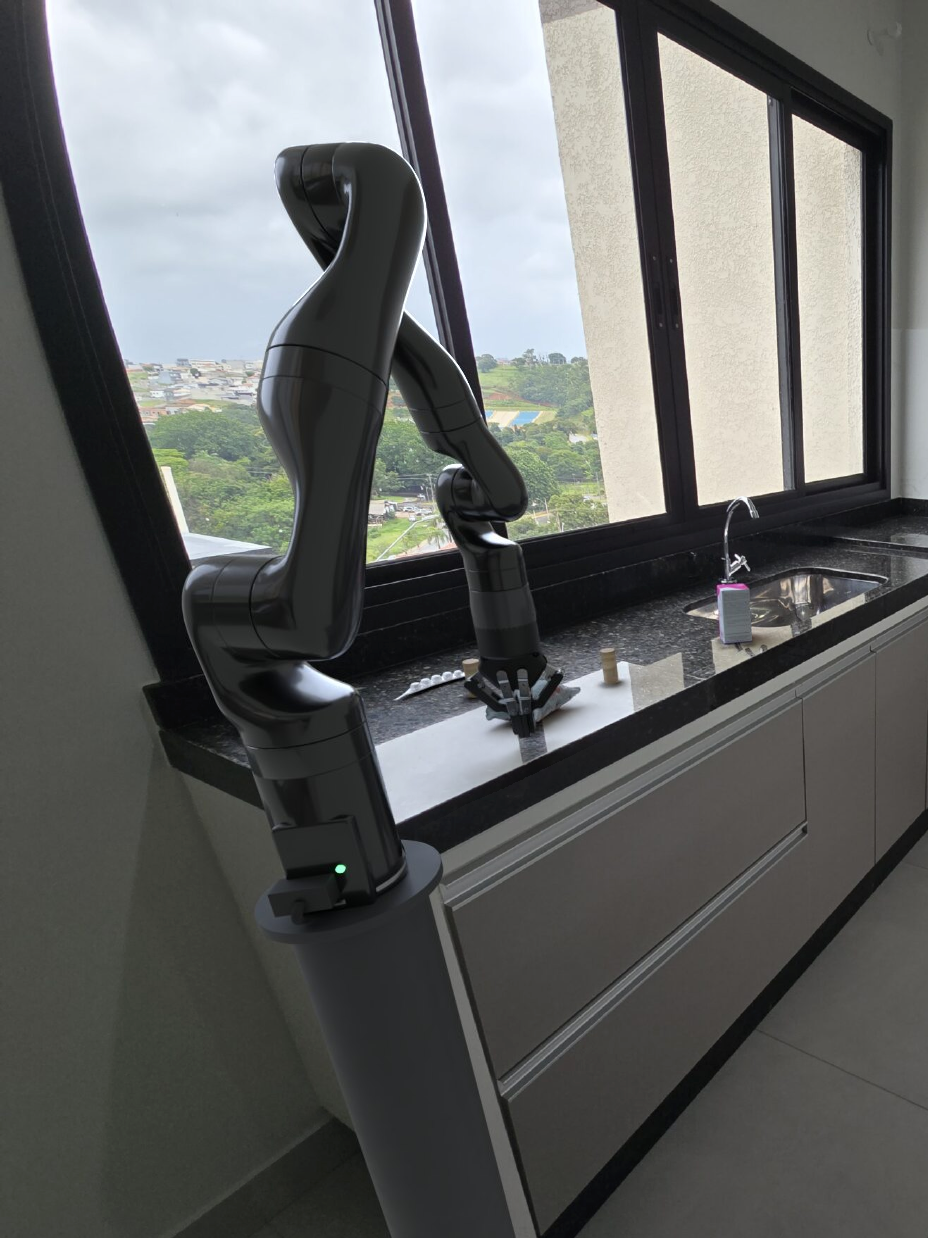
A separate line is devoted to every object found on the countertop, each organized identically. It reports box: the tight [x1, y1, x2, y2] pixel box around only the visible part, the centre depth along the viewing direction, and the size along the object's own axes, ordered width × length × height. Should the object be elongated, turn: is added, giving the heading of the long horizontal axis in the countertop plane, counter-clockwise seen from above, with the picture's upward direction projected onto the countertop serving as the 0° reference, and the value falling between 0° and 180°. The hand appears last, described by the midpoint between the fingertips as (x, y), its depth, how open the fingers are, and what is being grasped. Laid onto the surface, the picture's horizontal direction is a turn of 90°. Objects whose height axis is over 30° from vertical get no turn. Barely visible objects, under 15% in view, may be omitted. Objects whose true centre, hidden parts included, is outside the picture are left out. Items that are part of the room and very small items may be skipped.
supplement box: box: [716, 583, 753, 646], centre depth 150 cm, size 6×6×12 cm
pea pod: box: [394, 669, 465, 702], centre depth 126 cm, size 15×4×2 cm, turn 151°
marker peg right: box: [599, 647, 620, 685], centre depth 128 cm, size 2×2×6 cm
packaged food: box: [485, 679, 581, 723], centre depth 114 cm, size 9×12×5 cm
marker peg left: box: [462, 658, 480, 699], centre depth 122 cm, size 2×2×6 cm
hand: (526, 735), depth 105 cm, fingers closed
